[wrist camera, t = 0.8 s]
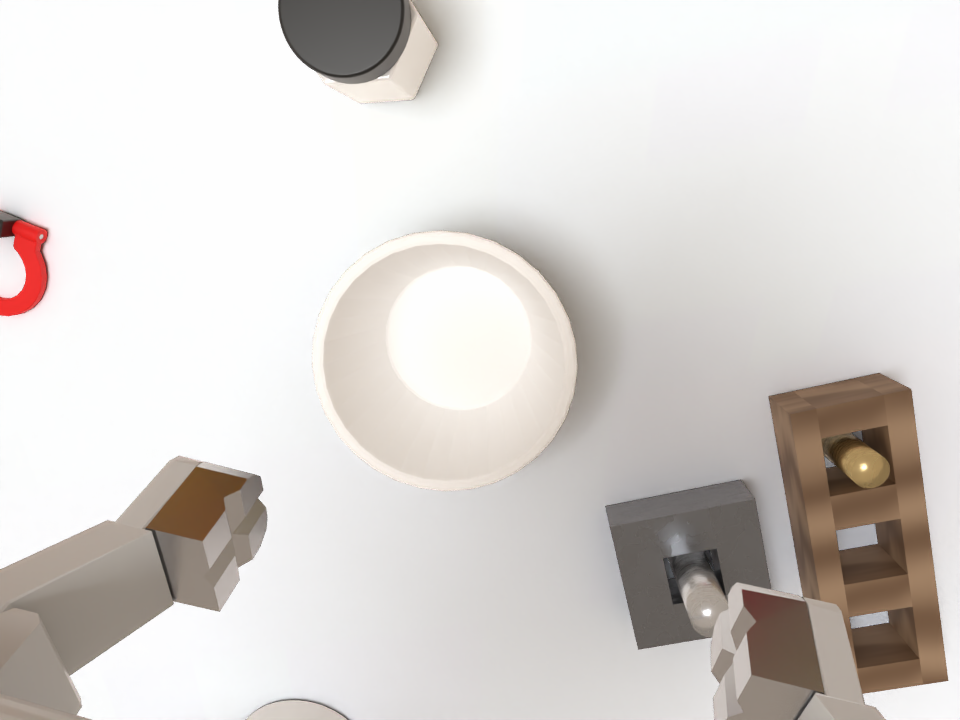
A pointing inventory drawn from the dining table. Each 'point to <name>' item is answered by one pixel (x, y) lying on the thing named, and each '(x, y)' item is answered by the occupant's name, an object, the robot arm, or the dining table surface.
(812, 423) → the rack
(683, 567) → the steel peg
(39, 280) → the tow hook
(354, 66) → the jar
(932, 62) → the dining table surface
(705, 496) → the socket block
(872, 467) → the cylinder
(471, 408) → the bowl
